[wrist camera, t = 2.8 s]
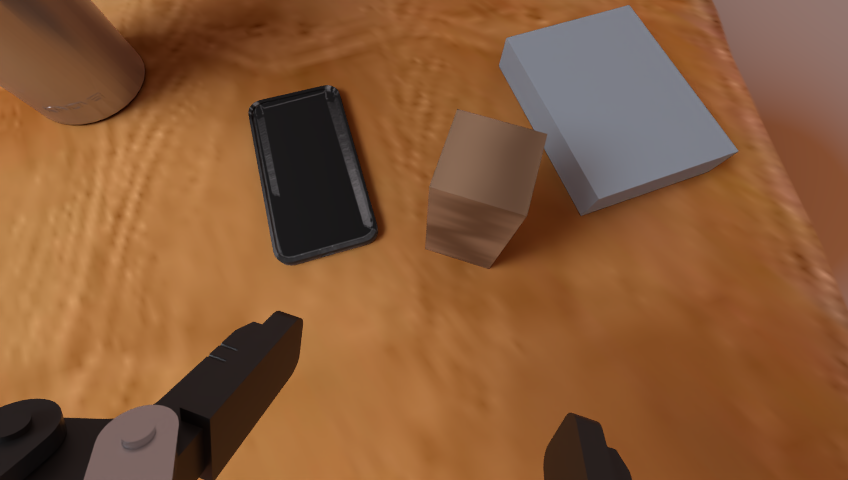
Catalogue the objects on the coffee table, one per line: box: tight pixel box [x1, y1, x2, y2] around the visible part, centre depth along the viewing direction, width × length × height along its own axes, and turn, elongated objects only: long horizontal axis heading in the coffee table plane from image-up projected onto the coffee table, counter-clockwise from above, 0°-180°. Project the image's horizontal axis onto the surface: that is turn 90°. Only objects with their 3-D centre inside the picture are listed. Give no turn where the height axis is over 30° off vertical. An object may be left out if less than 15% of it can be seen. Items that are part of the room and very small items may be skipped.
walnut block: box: [425, 109, 547, 269], centre depth 23 cm, size 5×5×10 cm
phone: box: [249, 85, 378, 265], centre depth 29 cm, size 8×1×15 cm
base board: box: [499, 5, 738, 216], centre depth 30 cm, size 16×12×3 cm
